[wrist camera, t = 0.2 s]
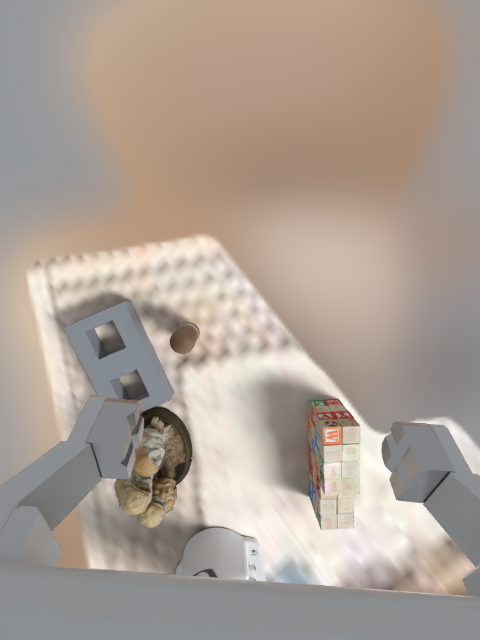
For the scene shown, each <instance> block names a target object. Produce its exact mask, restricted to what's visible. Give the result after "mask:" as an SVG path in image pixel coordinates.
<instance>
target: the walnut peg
mask: <svg viewBox="0 0 480 640" xmlns="http://www.w3.org/2000/svg"><path fill="white" fill-rule="evenodd" d="M199 335H200V332H199V329H198V327H197V326H196V325H195V324H193V323H184V324H182V325H181V326H179V327H178V328H177V330H176V331H175V332H174V333H173V334H172V336H171V338H170V345H171V348H172V349H173V350H174V351H175V352H177V353H179V354H185V353H188V352H190V351H191V350H192V348H193V347H194V345H195V344H196V343H197V341H198V339H199Z"/></svg>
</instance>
